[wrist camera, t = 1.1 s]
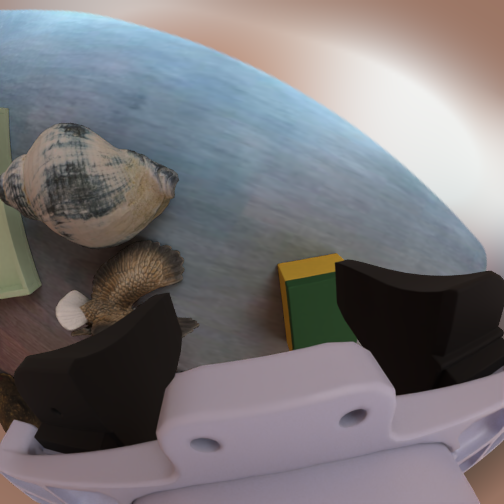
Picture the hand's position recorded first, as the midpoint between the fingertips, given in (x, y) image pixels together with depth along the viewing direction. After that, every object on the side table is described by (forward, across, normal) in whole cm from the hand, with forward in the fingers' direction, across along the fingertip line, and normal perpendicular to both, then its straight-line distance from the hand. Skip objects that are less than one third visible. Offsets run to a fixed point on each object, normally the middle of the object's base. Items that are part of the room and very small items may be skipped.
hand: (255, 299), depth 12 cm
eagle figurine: (+8, +9, +2) cm, 12 cm away
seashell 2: (+8, +10, -7) cm, 15 cm away
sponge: (+8, -4, +5) cm, 11 cm away
